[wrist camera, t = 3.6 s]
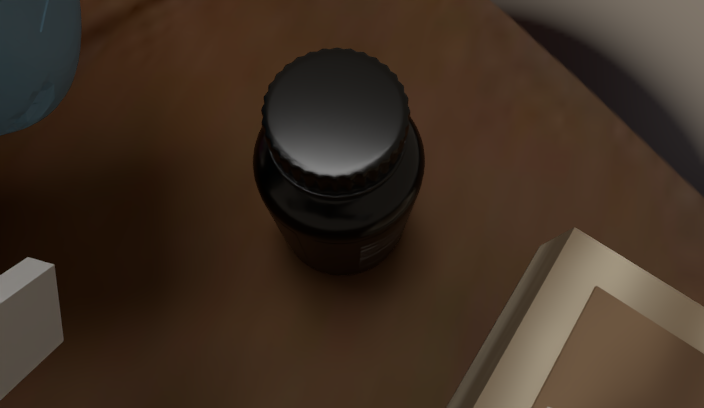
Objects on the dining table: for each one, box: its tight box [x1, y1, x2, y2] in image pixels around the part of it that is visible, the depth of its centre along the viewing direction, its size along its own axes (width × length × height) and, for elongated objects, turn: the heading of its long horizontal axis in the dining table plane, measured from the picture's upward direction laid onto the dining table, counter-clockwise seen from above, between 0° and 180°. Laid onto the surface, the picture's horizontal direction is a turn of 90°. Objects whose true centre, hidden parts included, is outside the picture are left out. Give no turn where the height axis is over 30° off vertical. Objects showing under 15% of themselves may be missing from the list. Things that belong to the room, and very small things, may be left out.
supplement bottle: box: [253, 48, 425, 275], centre depth 20 cm, size 7×7×12 cm
